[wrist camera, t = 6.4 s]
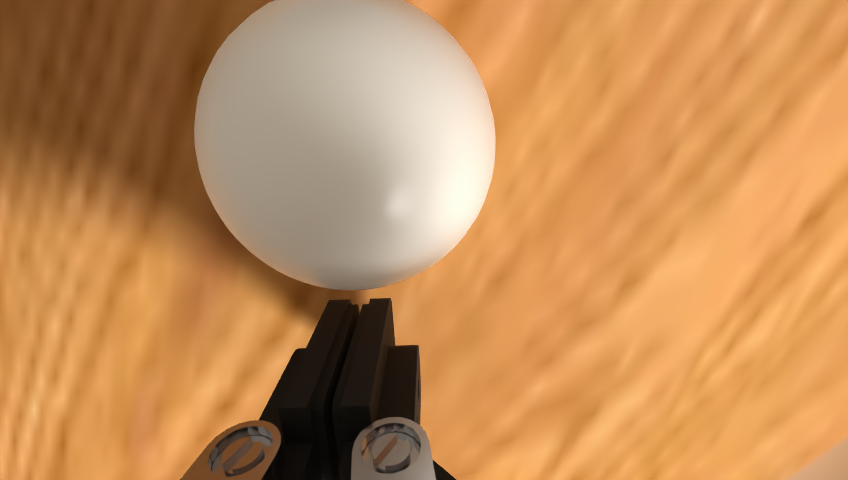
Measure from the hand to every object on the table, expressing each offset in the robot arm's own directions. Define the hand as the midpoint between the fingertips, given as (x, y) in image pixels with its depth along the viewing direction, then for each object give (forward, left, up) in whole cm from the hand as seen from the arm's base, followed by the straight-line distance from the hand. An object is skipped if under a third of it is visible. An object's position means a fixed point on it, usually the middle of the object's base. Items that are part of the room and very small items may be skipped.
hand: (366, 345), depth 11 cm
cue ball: (+4, +3, +1) cm, 6 cm away
